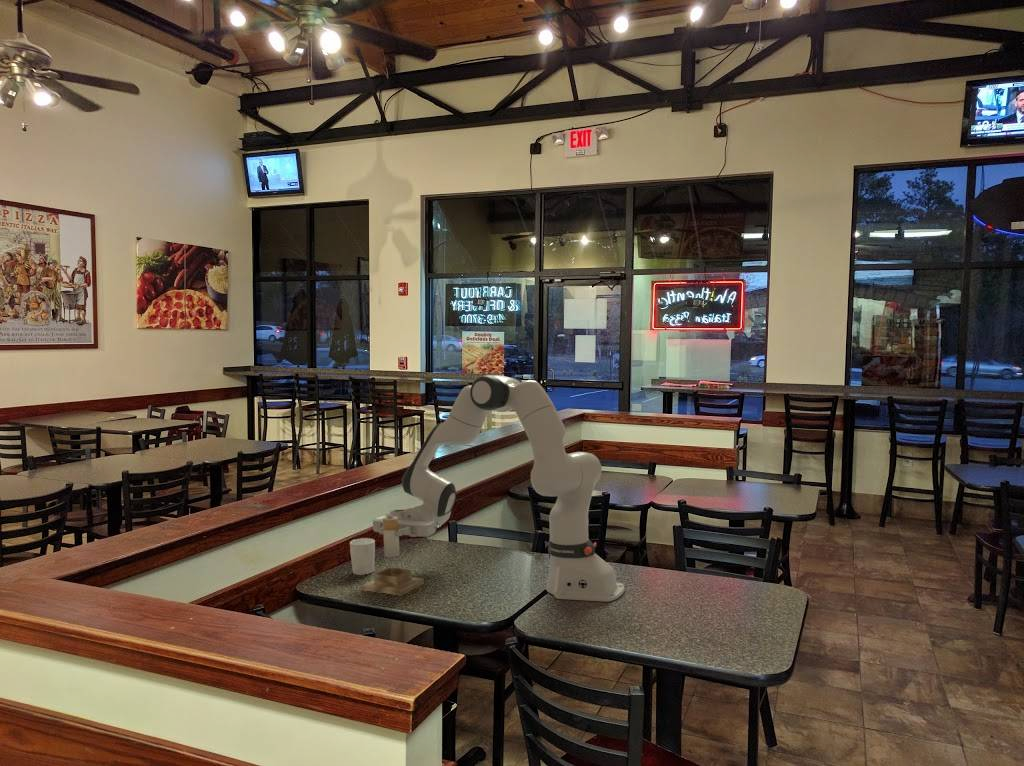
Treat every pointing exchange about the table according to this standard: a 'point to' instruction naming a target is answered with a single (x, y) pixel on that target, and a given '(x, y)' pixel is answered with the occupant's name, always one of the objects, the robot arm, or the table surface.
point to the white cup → (362, 555)
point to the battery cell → (390, 536)
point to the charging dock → (393, 582)
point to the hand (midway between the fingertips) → (389, 532)
